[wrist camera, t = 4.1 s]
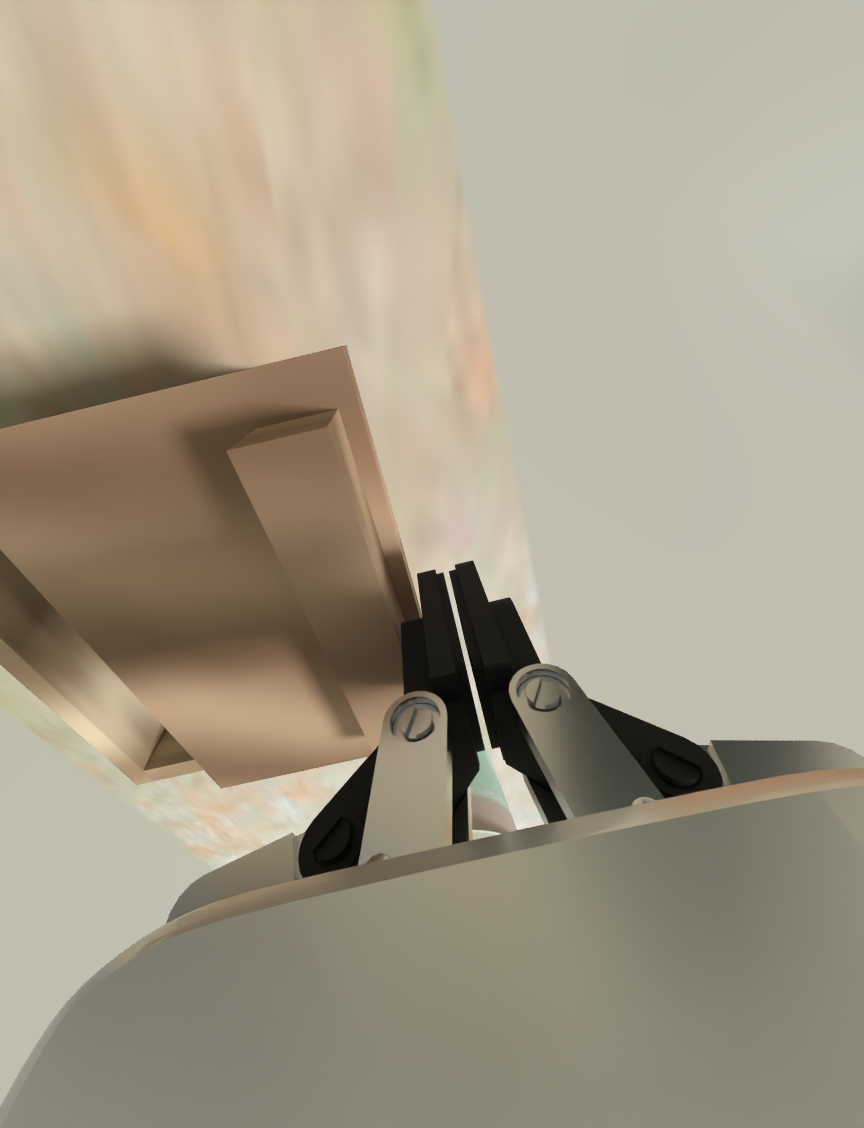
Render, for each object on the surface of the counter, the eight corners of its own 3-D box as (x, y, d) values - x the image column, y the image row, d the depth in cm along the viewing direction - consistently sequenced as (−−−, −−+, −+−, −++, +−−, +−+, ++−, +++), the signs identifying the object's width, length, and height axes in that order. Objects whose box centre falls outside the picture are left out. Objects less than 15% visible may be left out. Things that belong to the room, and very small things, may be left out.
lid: (-57, 442, 9) (-208, 480, 7) (345, 345, 9) (330, 350, 7) (227, 769, 17) (201, 842, 14) (451, 720, 17) (462, 786, 14)
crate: (23, 426, 16) (-202, 486, 10) (263, 368, 15) (186, 393, 9) (201, 666, 23) (136, 784, 17) (366, 629, 23) (358, 736, 17)
